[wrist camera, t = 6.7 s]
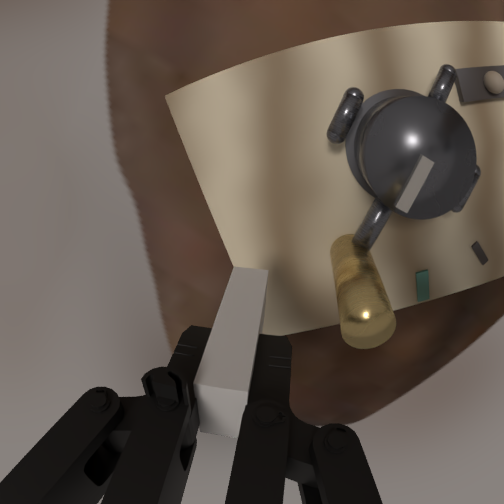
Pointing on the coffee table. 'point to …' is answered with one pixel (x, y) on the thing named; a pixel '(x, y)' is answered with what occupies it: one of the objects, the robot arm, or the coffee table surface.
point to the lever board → (343, 165)
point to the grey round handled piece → (397, 190)
